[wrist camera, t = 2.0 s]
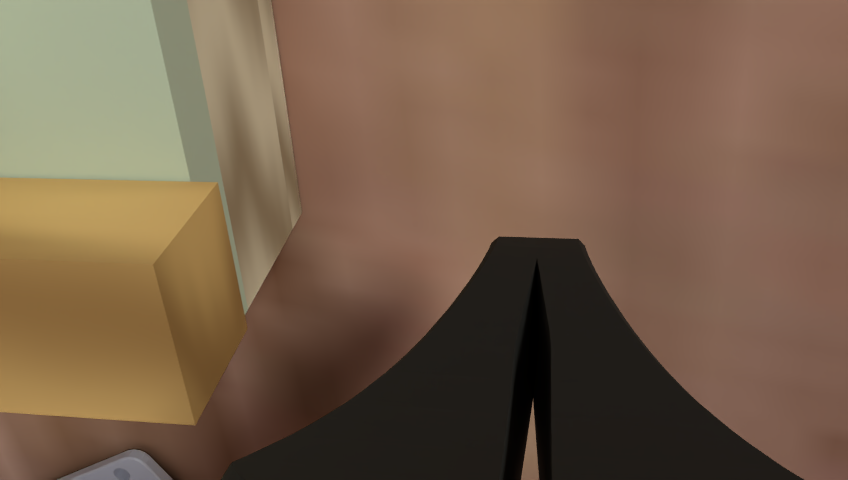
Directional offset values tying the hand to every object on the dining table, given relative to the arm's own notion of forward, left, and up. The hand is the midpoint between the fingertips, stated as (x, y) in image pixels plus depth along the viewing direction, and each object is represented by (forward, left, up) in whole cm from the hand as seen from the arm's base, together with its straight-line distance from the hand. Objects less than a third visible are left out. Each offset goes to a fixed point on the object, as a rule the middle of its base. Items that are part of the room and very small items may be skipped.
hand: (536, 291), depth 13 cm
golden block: (-9, +5, -1) cm, 11 cm away
